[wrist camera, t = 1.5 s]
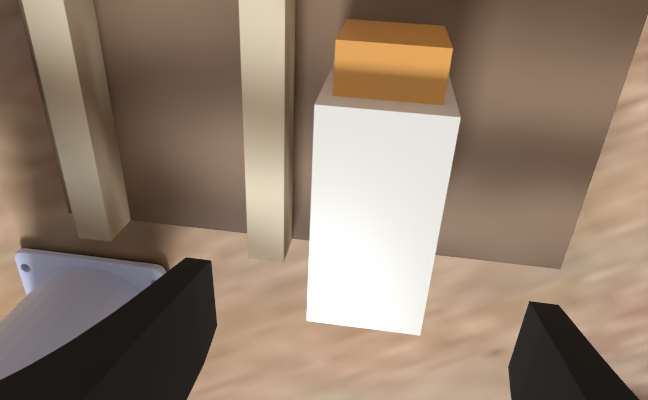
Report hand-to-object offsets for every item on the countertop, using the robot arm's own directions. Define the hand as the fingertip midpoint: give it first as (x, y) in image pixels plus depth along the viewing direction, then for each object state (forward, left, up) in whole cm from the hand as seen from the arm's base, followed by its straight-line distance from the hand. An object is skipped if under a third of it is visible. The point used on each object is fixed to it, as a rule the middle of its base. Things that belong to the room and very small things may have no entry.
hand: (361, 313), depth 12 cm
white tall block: (-1, 0, -10) cm, 10 cm away
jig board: (+1, +3, -11) cm, 11 cm away
